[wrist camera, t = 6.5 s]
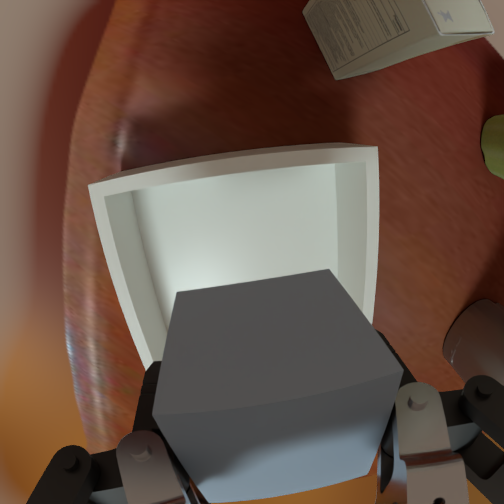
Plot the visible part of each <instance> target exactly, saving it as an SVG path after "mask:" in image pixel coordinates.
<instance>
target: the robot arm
mask: <svg viewBox="0 0 504 504" xmlns="http://www.w3.org/2000/svg"><path fill="white" fill-rule="evenodd" d="M375 330H376V329H375ZM376 332H377V333H378V334H379V336H380V337H381V338H382V340H383V341H384V343H385V344H386V345H387V347H388V348H389V350H390V351H391V352H392V354H393V355H394V357H395V358H396V359H397V361H398V362H399V364H400V365H401V367H402V368H403V369H404V371H403V375H402V378H401V382H400V385H399V389H398V392H397V395H396V399H395V402H394V405H393V408H392V411H391V414H390V417H389V420H388V423H387V426H386V429H385V432H384V434H383V437H382V440H381V442H380V445H379V448H378V471H377V495H376V501H375V504H469V499H468V498H469V497H468V489H467V480H466V478H467V479H468V480H469V481H470V482H471V483H472V484H473V485H474V486H475V487H476V488H477V489H478V490H479V491H480V492H481V493H482V494H483V495H484V496H485V497H486V498H487V499H488V500H489V501H490V502H491V503H492V504H504V452H503V451H502V450H501V449H499V448H498V447H497V446H496V445H495V444H494V443H493V442H492V441H491V440H489V439H488V438H487V437H486V436H485V435H484V434H483V433H482V430H483V431H484V432H485V433H487V434H488V435H489V436H490V437H491V438H492V439H493V440H495V441H496V442H497V443H498V444H499V445H500V446H501V447H502V448H503V449H504V307H503V306H502V305H501V304H500V303H496V304H495V303H493V302H492V301H491V300H488V299H482V300H479V301H477V302H475V303H474V304H472V305H471V306H469V307H468V308H467V309H466V310H465V311H464V312H463V313H462V314H461V315H460V316H459V318H458V319H457V320H456V321H455V323H454V324H453V326H452V327H451V329H450V331H449V333H448V335H447V337H446V340H445V342H444V347H443V354H444V358H445V359H446V360H447V361H448V362H449V364H450V365H451V366H452V367H453V368H454V370H455V371H456V372H457V373H458V375H459V376H460V377H461V378H462V380H463V381H464V382H465V383H466V384H465V386H464V388H463V389H462V390H454V391H446V392H438V391H437V390H436V389H435V388H434V387H432V386H431V385H429V384H426V383H421V382H417V381H416V379H415V378H414V377H413V375H412V374H411V372H410V371H409V369H408V368H407V367H406V365H405V364H404V362H403V361H402V360H401V358H400V357H399V356H398V354H397V353H395V350H394V349H393V347H392V346H391V345H390V343H389V342H388V340H387V339H386V338H385V336H384V335H383V334H382V333H381V332H379V331H377V330H376ZM161 362H162V361H153V363H152V364H151V365H150V367H149V368H148V369H147V370H146V372H145V375H144V380H143V386H142V388H141V395H140V397H139V402H138V406H137V411H136V416H135V420H134V425H133V430H132V432H131V433H129V434H127V435H126V436H124V437H123V438H122V439H121V441H120V442H119V444H118V446H117V448H116V449H113V450H109V451H105V452H100V453H96V454H91V455H90V454H89V453H88V452H87V451H86V450H85V449H84V448H82V447H80V446H76V445H70V446H66V447H63V448H61V449H60V450H59V451H57V453H56V454H55V455H54V456H53V458H52V460H51V461H50V463H49V465H48V466H47V468H46V470H45V471H44V473H43V475H42V477H41V478H40V480H39V482H38V484H37V485H36V487H35V489H34V491H33V492H32V494H31V496H30V498H29V499H28V501H27V503H26V504H200V502H199V500H198V498H197V496H196V493H195V491H194V489H193V487H192V485H191V483H190V476H189V475H188V473H187V472H186V470H185V469H184V467H183V466H182V464H181V462H180V461H179V459H178V458H177V456H176V455H175V453H174V451H173V450H172V448H171V447H170V445H169V443H168V442H167V440H166V438H165V437H164V435H163V433H162V432H161V430H160V428H159V426H158V425H157V423H156V421H155V419H154V417H153V416H152V412H153V406H154V400H155V394H156V389H157V383H158V378H159V373H160V367H161Z"/></svg>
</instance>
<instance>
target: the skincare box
mask: <svg viewBox="0 0 504 504" xmlns="http://www.w3.org/2000/svg"><path fill="white" fill-rule="evenodd" d="M302 13H303V15H304V17H305V19H306V21H307V23H308V25H309V27H310V29H311V31H312V33H313V35H314V37H315V39H316V41H317V43H318V45H319V47H320V50H321V52H322V54H323V56H324V58H325V60H326V62H327V64H328V66H329V68H330V70H331V72H332V74H333V76H334V78H335V80H340V79H345V78H349V77H353V76H357V75H362V74H365V73H369V72H373V71H376V70H380V69H383V68H385V67H388V66H391V65H393V64H396V63H399V62H402V61H405V60H407V59H410V58H413V57H416V56H419V55H422V54H425V53H428V52H432V51H435V50H438V49H441V48H444V47H448V46H451V45H455V44H458V43H462V42H465V41H469V40H473V39H477V38H481V37H485V36H489V35H493V34H494V29H493V26H492V24H491V22H490V19H489V17H488V15H487V13H486V10H485V8H484V6H483V4H482V2H481V0H309V2H308V3H307V5H306V6H305V8H304V9H303V11H302Z"/></svg>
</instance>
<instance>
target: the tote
mask: <svg viewBox="0 0 504 504" xmlns="http://www.w3.org/2000/svg"><path fill="white" fill-rule="evenodd" d="M88 188H89V192H90V197H91V202H92V206H93V211H94V215H95V219H96V223H97V227H98V231H99V235H100V239H101V243H102V247H103V250H104V254H105V257H106V261H107V264H108V268H109V271H110V274H111V277H112V281H113V284H114V287H115V290H116V293H117V296H118V299H119V302H120V305H121V308H122V311H123V313H124V316H125V319H126V322H127V324H128V327H129V330H130V332H131V335H132V338H133V340H134V343H135V345H136V348H137V350H138V353H139V355H140V358H141V360H142V362H143V365H144V367H145V369H146V370H147V369H148V368H149V367H150V365H151V364H152V363H153V361H162V357H163V352H164V347H165V342H166V338H167V333H168V328H169V324H170V319H171V315H172V310H173V306H174V301H175V297H176V293H177V292H179V291H187V290H194V289H201V288H208V287H215V286H222V285H229V284H236V283H243V282H249V281H256V280H262V279H269V278H275V277H281V276H288V275H294V274H300V273H306V272H312V271H318V270H324V269H330V271H331V272H332V273H333V274H334V276H335V277H336V278H337V280H338V281H339V282H340V284H341V285H342V286H343V287H344V289H345V290H346V291H347V293H348V294H349V295H350V297H351V298H352V299H353V301H354V302H355V303H356V305H357V306H358V307H359V309H360V310H361V311H362V313H363V314H364V315H365V317H366V318H367V319H368V321H369V322H370V323H371V325H372V320H373V311H374V301H375V290H376V277H377V261H378V240H379V165H378V147H376V146H368V145H360V144H351V143H341V142H337V143H318V144H304V145H291V146H280V147H269V148H260V149H251V150H242V151H234V152H227V153H220V154H213V155H206V156H199V157H193V158H187V159H181V160H176V161H170V162H165V163H159V164H154V165H149V166H144V167H139V168H135V169H130V170H125V171H121V172H118V173H116V174H113V175H111V176H108V177H106V178H104V179H101V180H99V181H96V182H94V183H92V184H89V185H88Z"/></svg>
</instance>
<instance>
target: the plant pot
mask: <svg viewBox="0 0 504 504" xmlns="http://www.w3.org/2000/svg"><path fill="white" fill-rule="evenodd" d="M481 148H482V151H483V153H484V156H485V164H486V166H487V168H488V169H489V171H490V172H491V173H492V174H494V175H496V176H498V177H500V178H502V179H504V115H497V116H493V117H492V118H490V119H488V120H487V121H486V123H485V125H484V127H483V131H482V137H481Z"/></svg>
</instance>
